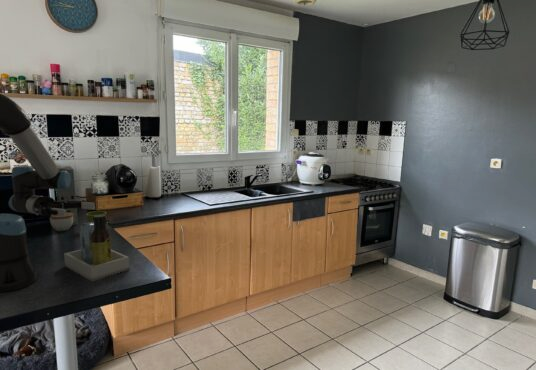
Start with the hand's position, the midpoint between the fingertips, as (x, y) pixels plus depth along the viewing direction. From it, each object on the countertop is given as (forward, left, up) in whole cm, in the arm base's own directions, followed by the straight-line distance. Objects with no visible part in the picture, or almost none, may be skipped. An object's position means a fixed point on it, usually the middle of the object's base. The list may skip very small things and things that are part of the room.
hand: (80, 209), depth 147 cm
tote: (-7, -10, -20) cm, 24 cm away
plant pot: (+40, +22, -21) cm, 50 cm away
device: (+50, +47, -21) cm, 71 cm away
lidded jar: (+37, +40, -21) cm, 58 cm away
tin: (-4, -6, -19) cm, 21 cm away
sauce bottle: (-9, -15, -20) cm, 26 cm away
